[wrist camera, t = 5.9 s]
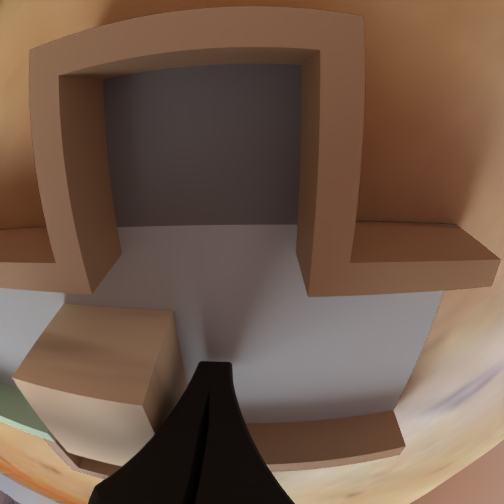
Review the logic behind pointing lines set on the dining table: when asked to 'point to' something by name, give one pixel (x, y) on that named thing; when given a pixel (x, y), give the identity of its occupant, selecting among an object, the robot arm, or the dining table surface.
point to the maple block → (104, 378)
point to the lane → (229, 223)
